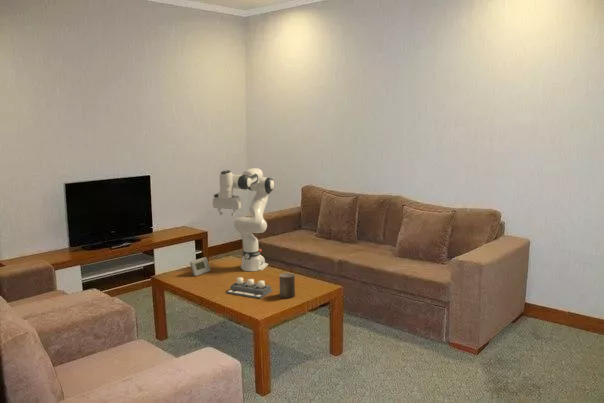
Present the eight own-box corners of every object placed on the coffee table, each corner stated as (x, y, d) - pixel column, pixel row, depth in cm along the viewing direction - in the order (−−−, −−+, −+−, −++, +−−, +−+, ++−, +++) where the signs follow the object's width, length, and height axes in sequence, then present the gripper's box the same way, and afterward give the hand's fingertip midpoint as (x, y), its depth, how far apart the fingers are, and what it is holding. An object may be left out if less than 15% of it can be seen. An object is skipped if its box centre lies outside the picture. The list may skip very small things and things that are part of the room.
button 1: (238, 283, 321) (238, 276, 320) (244, 284, 319) (244, 277, 319) (235, 285, 317) (235, 278, 317) (241, 286, 315) (240, 279, 315)
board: (239, 286, 326) (239, 280, 325) (272, 291, 316) (271, 285, 315) (226, 293, 313) (226, 287, 312) (260, 298, 302) (260, 292, 302)
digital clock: (194, 277, 345) (193, 262, 344) (187, 274, 352) (186, 260, 350) (213, 272, 356) (212, 258, 355) (206, 269, 363) (205, 255, 361)
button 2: (249, 284, 318) (249, 278, 317) (255, 285, 316) (255, 279, 315) (245, 286, 314) (245, 280, 313) (251, 287, 312) (251, 281, 311)
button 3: (260, 286, 315) (259, 280, 314) (266, 287, 313) (265, 280, 312) (256, 288, 311) (256, 282, 310) (262, 289, 309) (262, 283, 308)
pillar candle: (296, 297, 305) (296, 274, 302) (281, 299, 302) (281, 275, 300) (292, 292, 314) (292, 270, 311) (277, 294, 311) (277, 271, 309)
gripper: (242, 195, 325) (242, 215, 328) (216, 193, 333) (216, 213, 335) (237, 196, 320) (238, 217, 322) (211, 194, 327) (211, 215, 329)
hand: (227, 215), depth 328 cm, fingers open, 8 cm apart
